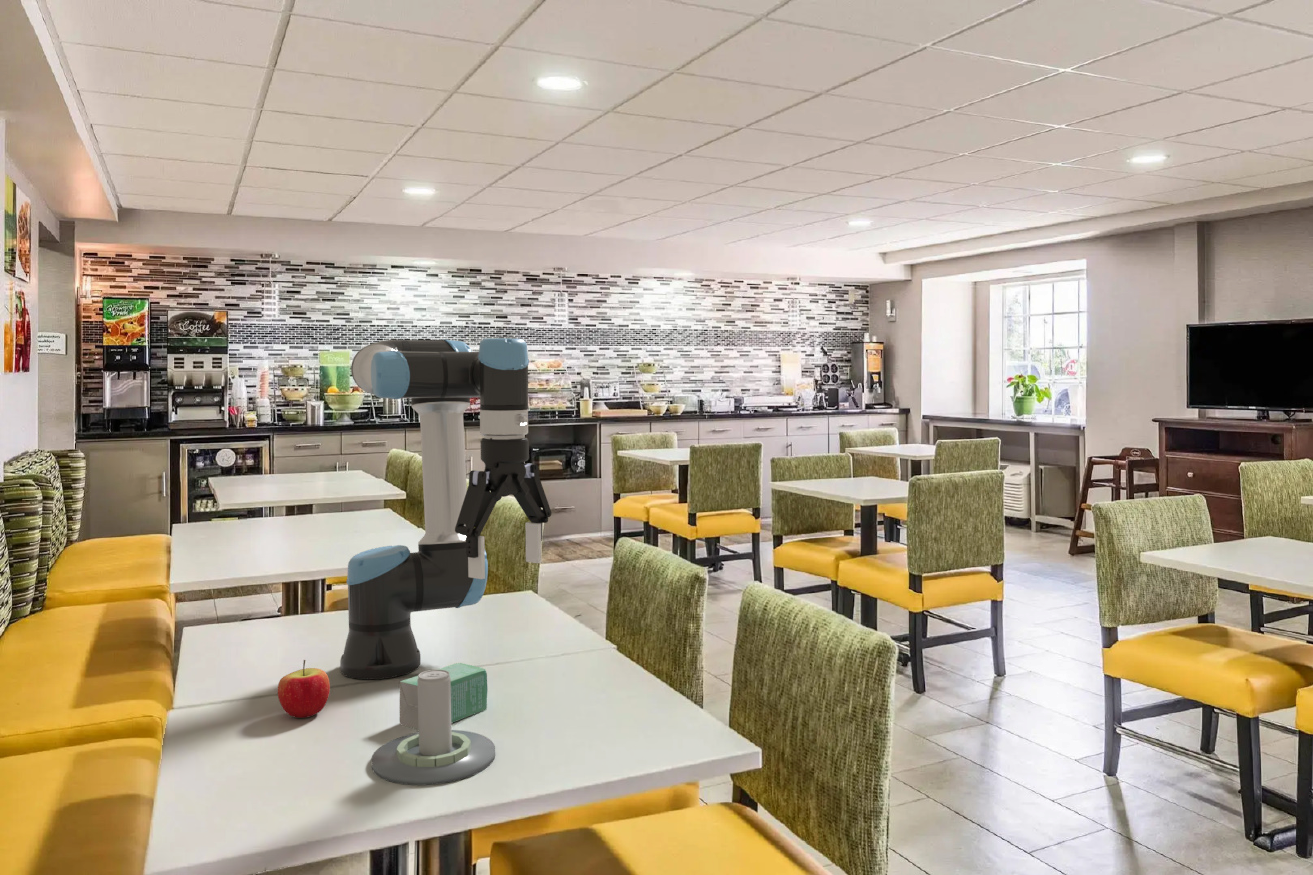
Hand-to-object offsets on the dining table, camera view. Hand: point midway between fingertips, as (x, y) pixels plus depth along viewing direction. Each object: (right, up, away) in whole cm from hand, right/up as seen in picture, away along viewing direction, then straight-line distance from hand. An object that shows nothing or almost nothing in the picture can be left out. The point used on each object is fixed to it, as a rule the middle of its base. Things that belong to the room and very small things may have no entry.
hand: (506, 570), depth 152 cm
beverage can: (-9, -26, -9) cm, 29 cm away
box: (-12, -26, +9) cm, 30 cm away
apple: (-36, -26, +10) cm, 45 cm away
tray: (-9, -27, -9) cm, 30 cm away
